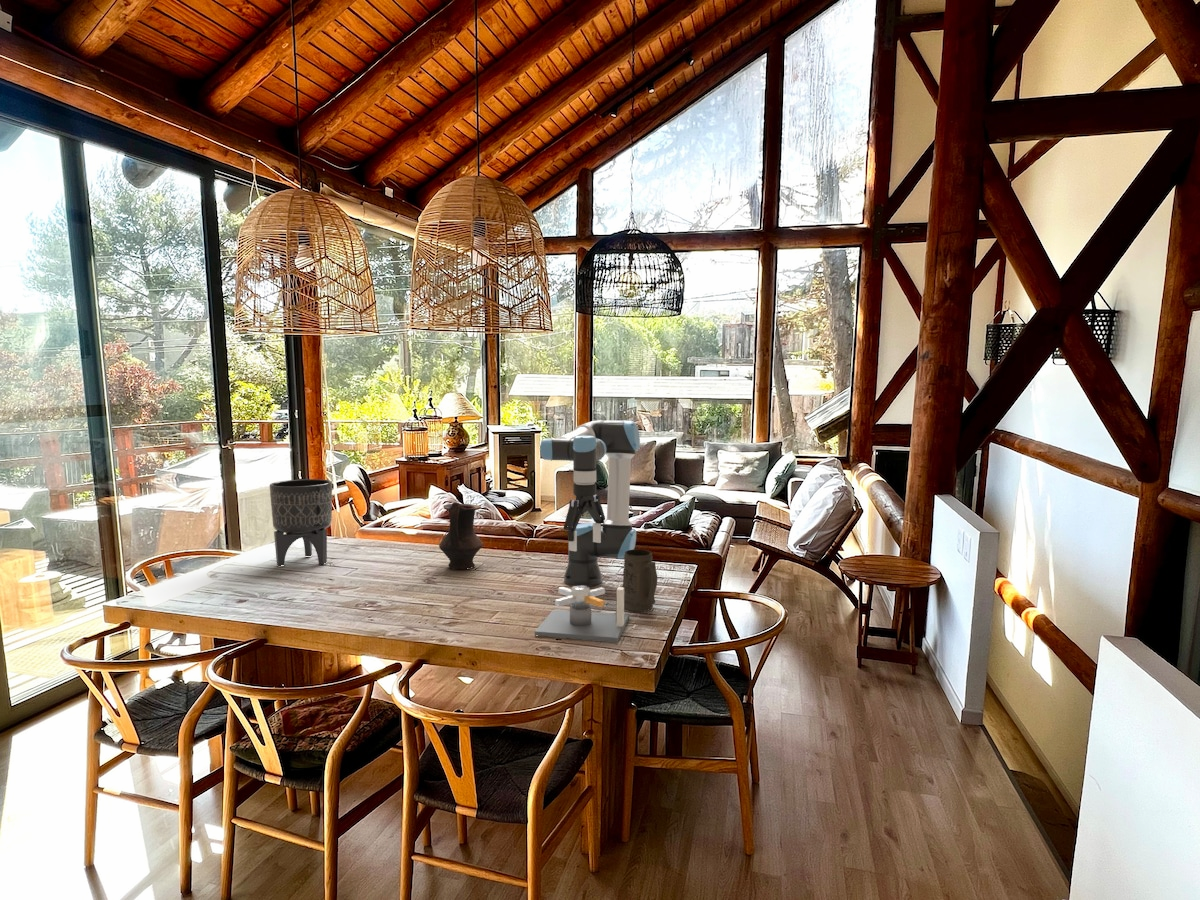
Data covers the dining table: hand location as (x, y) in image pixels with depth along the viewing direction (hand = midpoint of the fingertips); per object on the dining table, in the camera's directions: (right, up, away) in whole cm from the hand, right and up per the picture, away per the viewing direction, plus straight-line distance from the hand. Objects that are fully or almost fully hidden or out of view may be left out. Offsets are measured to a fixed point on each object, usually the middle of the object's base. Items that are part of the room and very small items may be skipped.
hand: (585, 546), depth 225 cm
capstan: (-1, -18, -6) cm, 19 cm away
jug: (-55, -19, +66) cm, 88 cm away
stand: (-1, -25, -6) cm, 26 cm away
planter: (-126, -18, +75) cm, 147 cm away
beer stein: (+20, -24, +13) cm, 34 cm away
